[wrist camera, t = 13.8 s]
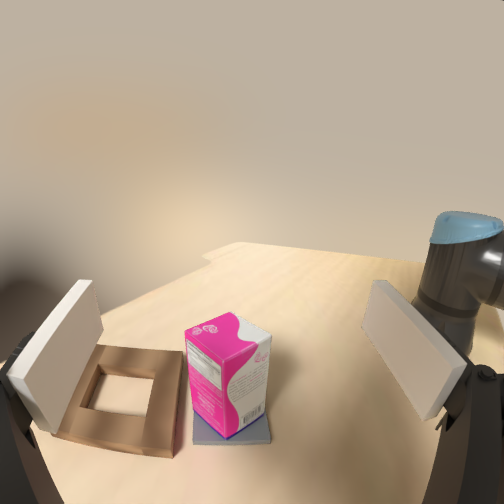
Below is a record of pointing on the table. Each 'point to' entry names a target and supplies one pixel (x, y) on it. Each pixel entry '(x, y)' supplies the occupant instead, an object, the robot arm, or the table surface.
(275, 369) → the table surface
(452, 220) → the robot arm
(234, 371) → the supplement box
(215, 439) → the coaster
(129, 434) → the board
